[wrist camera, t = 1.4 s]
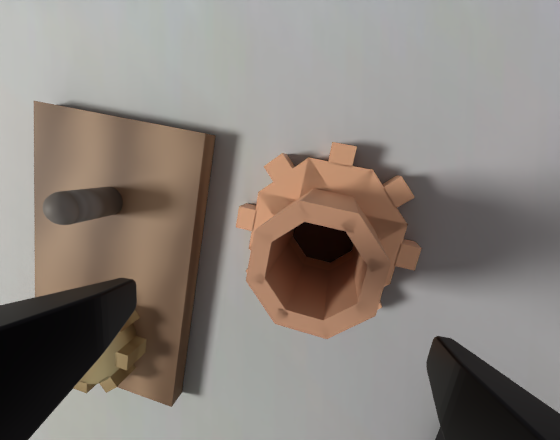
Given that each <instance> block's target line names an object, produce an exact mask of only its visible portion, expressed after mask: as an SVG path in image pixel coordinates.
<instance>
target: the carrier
mask: <svg viewBox="0 0 560 440" xmlns="http://www.w3.org/2000/svg"><path fill="white" fill-rule="evenodd" d="M214 144H215V135H210V134H206V133H200V132H195V131H190V130H185V129H180V128H174V127H169V126H164V125H159V124H153V123H148V122H143V121H138V120H132V119H127V118H122V117H117V116H111V115H106V114H101V113H96V112H90V111H85V110H80V109H75V108H69V107H64V106H59V105H54V104H48V103H43V102H38V101H34V203H35V297H39V296H44V295H48V294H52V293H57V292H61V291H65V290H70V289H74V288H78V287H83V286H87V285H91V284H96V283H100V282H104V281H109V280H113V279H117V278H128V279H133V280H134V281H135V282H136V289H137V305H136V308H135V310H134V312H133V313H132V315H131V316H130V318H129V319H128V320H127V322H126V323H125V325H124V326H123V327H122V329H121V330H120V331H119V333H118V334H117V336H116V337H115V338H114V340H113V341H112V343H111V344H110V345H109V347H108V348H107V349H106V350H105V352H104V353H103V354H102V355H101V357H100V358H99V359H98V360H97V361H96V362H95V364H94V365H93V366H92V367H91V368H90V369H89V371H88V372H87V373H86V374H85V375H84V376H83V377H82V379H81V380H80V381H79V382H78V383H77V384H76V385H75V387H74V389H77V390H79V391H82V392H85V393H87V392H88V391H90V390H91V389H92V388H93V387H94V386H95V385H96V384H98V383H100V385H101V386H102V388H103V389H104V390H105V392H106V393H107V392H108V391H110V390H112V389H114V388H116V387H119V388H121V389H124V390H127V391H130V392H132V393H135V394H138V395H141V396H143V397H146V398H149V399H152V400H154V401H157V402H160V403H163V404H165V405H168V406H171V407H172V406H173V404H174V403H175V401H176V400H177V398H178V397H179V396H180V394H181V393H182V387H183V379H184V372H185V364H186V356H187V349H188V341H189V334H190V326H191V318H192V311H193V303H194V296H195V288H196V280H197V273H198V265H199V258H200V250H201V242H202V235H203V227H204V220H205V212H206V204H207V197H208V189H209V182H210V174H211V166H212V159H213V151H214Z"/></svg>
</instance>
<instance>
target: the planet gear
mask: <svg viewBox="0 0 560 440" xmlns="http://www.w3.org/2000/svg"><path fill="white" fill-rule="evenodd" d="M356 149H357V146H351V145H346V144H340V143H335V142H332V146H331V151H330V155H329V160H328V161H324V160H319V159H314V158H311V157H309V158H307V159H306V160H304V161H303V162H301V163H300V164H299V165H297V166H296V167H295V166H294V164H293V163H292V161H291V160H290V158H289V157H288V155H287V154H284V153H282V154H281V155H279V156H278V157H276V158H275V159H274V160H272V161H271V162H269V163H268V164H267V165H265V166H264V168H265V169H266V171H267V172H268V174H269V176H270V177H271V179H272V180H273V182H272V183H271V184H270V185H268V186H267V187H265V188H264V189H262V190H261V191H259V192H258V198H257V204H256V205H252V204H248V203H246V204H244V205H241V206H239V210H238V217H237V223H236V227H237V228H241V229H245V230H249V231H252V233H251V239H250V245H249V249H250V250H251V254H250V260H249V265H248V269H247V270H246V272H247V277H246V281H247V283H248V284H249V286H250V287H251V289H252V290H253V292H254V293H255V295H256V296H257V298H258V299H259V301H260V302H261V304H262V305H263V307H264V308H265V310H266V311H267V313H268V314H269V316H270V317H271V319H272V320H273V322H274V323H275V324H277V325H281V326H284V327H288V328H291V329H294V330H298V331H301V332H305V333H308V334H311V335H315V336H318V337H322V338H325V339H328V338H330V337H332V336H334V335H336V334H338V333H341V332H343V331H345V330H347V329H349V328H351V327H353V326H355V325H357V324H359V323H362V322H364V321H366V320H368V319H370V318H372V317H374V316H376V312H377V310H378V309H380V308H382V304H381V301H380V299H381V295H382V292H383V288H384V287H385V286H387V285H389V284H391V283H390V282H391V279H392V276H393V272H394V269H395V266H397V267H402V268H406V269H410V270H414V271H415V268H416V265H417V262H418V258H419V255H420V252H421V249H422V248H421V247H420V246H419V245H418V244H417V243H416V242H415V241H410V240H406V239H404V235H405V232H406V229H407V226H408V224H407V223H406V221H405V220H404V218H403V217H402V215H401V214H400V212H399V210H398V209H397V207H399V206H401V205H403V204H404V203H406V202H408V201H409V200H411V199H413V198H415V197H414V195H413V194H412V192H411V190H410V189H409V187H408V186H407V184H406V182H405V181H404V179H403V178H402V176H398V175H397V176H395V177H393V178H392V179H390V180H388V181H387V182H385V183H383V184H381V182H380V180H379V179H378V177H377V176H376V174H375V173H374V171H373V169H365V168H360V167H355V166H352V165H353V161H354V157H355V153H356ZM303 222H308V223H312V224H316V225H321V226H325V227H329V228H334V229H338V230H342V231H346V233H347V234H348V236H349V238H350V239H351V241H352V242H353V248H352V251H350V252H348V253H347V254H345V255H343V256H341V257H339V258H338V259H336V260H334V261H332V262H326V261H322V260H318V259H314V258H310V257H306V256H305V254H304V252H303V251H302V249H301V248H300V246H299V245H298V243H297V242H296V240H295V239H294V237H293V234H294V229H295V227H297V226H298V225H300V224H302V223H303Z"/></svg>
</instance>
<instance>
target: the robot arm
mask: <svg viewBox="0 0 560 440" xmlns="http://www.w3.org/2000/svg"><path fill="white" fill-rule="evenodd" d="M136 305H137V289H136V282H135V281H134V280H133V279H128V278H117V279H113V280H109V281H104V282H100V283H96V284H91V285H87V286H83V287H78V288H74V289H70V290H65V291H61V292H57V293H52V294H48V295H44V296H39V297H35V298H31V299H26V300H22V301H18V302H13V303H9V304H5V305H0V440H28V439H29V438H30V437H31V436H32V435H33V434H34V432H35V431H36V430H37V429H38V428H39V427H40V426H41V424H42V423H43V422H44V421H45V420H46V419H47V417H48V416H49V415H50V414H51V413H52V412H53V411H54V409H55V408H56V407H57V406H58V405H59V404H60V403H61V401H62V400H63V399H64V398H65V397H66V396H67V395H68V393H69V392H70V391H71V390H72V389H73V388H74V387H75V385H76V384H77V383H78V382H79V381H80V380H81V379H82V377H83V376H84V375H85V374H86V373H87V372H88V371H89V369H90V368H91V367H92V366H93V365H94V364H95V362H96V361H97V360H98V359H99V358H100V357H101V355H102V354H103V353H104V352H105V350H106V349H107V348H108V347H109V345H110V344H111V343H112V341H113V340H114V338H115V337H116V336H117V334H118V333H119V331H120V330H121V329H122V327H123V326H124V325H125V323H126V322H127V320H128V319H129V318H130V316H131V315H132V313H133V312H134V310H135V308H136ZM427 372H428V376H429V381H430V385H431V389H432V393H433V398H434V402H435V406H436V411H437V415H438V419H439V423H440V426H441V427H440V429H439V432H438V434H437V437H436V439H435V440H560V414H559V413H558V412H556V411H555V410H553V409H552V408H551V407H549V406H548V405H546V404H545V403H543V402H542V401H541V400H539V399H538V398H536V397H535V396H533V395H532V394H530V393H529V392H528V391H526V390H525V389H523V388H522V387H520V386H519V385H518V384H516V383H515V382H513V381H512V380H510V379H509V378H508V377H506V376H505V375H503V374H502V373H500V372H499V371H497V370H496V369H495V368H493V367H492V366H490V365H489V364H487V363H486V362H485V361H483V360H482V359H480V358H479V357H477V356H476V355H475V354H473V353H472V352H470V351H469V350H467V349H466V348H464V347H463V346H462V345H460V344H459V343H457V342H456V341H454V340H453V339H451V338H446V337H441V336H436V337H435V338H434V339H433V342H432V345H431V348H430V352H429V355H428V358H427Z"/></svg>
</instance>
